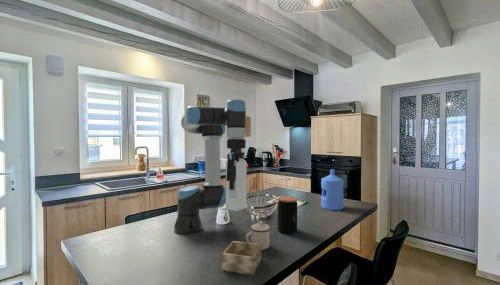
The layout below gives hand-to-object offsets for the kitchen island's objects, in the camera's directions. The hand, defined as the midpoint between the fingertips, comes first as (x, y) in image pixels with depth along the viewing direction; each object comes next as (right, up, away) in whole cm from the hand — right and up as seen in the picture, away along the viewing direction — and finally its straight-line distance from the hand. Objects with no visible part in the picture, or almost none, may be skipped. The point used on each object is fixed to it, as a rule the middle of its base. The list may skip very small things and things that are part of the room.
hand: (236, 195), depth 102 cm
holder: (+3, -28, 0) cm, 28 cm away
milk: (0, -5, 0) cm, 5 cm away
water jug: (+65, -27, +84) cm, 110 cm away
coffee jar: (+26, -27, +37) cm, 53 cm away
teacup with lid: (+9, -28, +17) cm, 34 cm away
